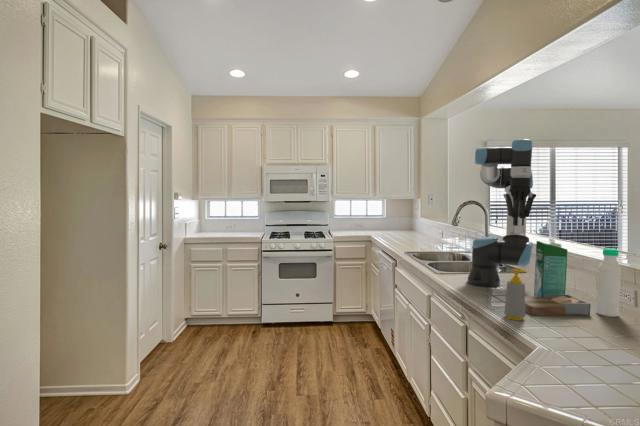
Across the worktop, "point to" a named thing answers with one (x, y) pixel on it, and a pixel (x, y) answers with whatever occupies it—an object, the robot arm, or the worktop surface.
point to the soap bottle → (515, 298)
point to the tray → (572, 305)
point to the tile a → (561, 300)
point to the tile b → (574, 300)
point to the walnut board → (543, 307)
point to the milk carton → (550, 269)
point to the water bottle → (609, 284)
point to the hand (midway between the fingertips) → (517, 233)
